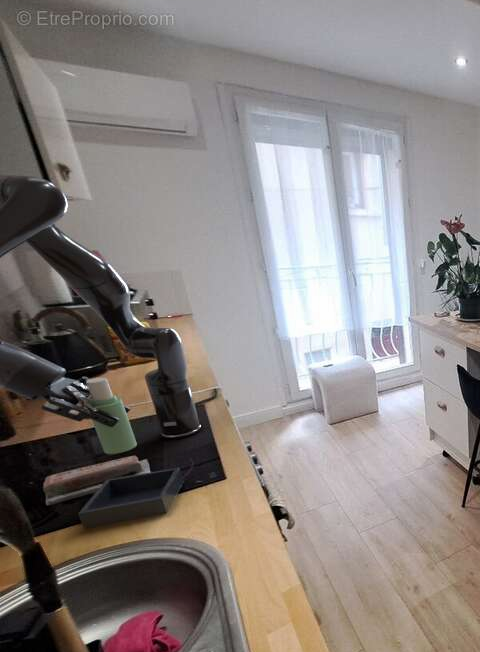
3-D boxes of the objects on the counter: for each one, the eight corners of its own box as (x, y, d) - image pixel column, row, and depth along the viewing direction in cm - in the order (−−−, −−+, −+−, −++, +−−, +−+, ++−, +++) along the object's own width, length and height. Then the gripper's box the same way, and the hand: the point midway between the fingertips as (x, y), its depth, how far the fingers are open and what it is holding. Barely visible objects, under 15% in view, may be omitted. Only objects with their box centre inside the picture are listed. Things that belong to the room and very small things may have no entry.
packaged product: (38, 490, 91) (41, 472, 97) (47, 508, 92) (49, 489, 99) (147, 461, 103) (143, 447, 109) (152, 478, 105) (148, 462, 111)
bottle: (110, 444, 91) (85, 377, 85) (140, 440, 93) (118, 374, 87) (99, 456, 86) (72, 385, 81) (131, 451, 89) (107, 382, 83)
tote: (112, 495, 97) (106, 479, 96) (184, 483, 103) (179, 467, 101) (85, 531, 86) (77, 513, 84) (167, 515, 92) (161, 498, 90)
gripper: (11, 368, 73) (121, 418, 82) (54, 347, 85) (146, 393, 94) (-20, 399, 72) (94, 446, 82) (28, 374, 84) (123, 417, 94)
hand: (121, 417), depth 88 cm, fingers closed on bottle, 5 cm apart
